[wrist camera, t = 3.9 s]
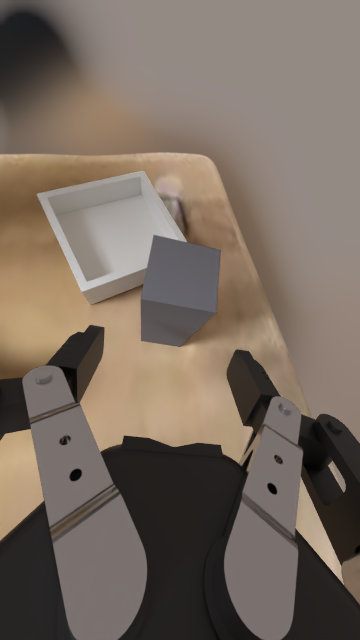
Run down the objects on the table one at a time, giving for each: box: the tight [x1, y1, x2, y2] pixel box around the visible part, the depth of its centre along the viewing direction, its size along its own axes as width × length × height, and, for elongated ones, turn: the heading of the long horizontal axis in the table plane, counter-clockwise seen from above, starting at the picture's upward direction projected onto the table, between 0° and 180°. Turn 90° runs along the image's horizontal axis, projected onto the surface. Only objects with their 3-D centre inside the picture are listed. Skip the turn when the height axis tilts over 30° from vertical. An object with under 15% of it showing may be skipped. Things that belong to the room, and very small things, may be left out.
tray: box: [36, 170, 187, 305], centre depth 24 cm, size 13×13×4 cm
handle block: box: [141, 235, 221, 347], centre depth 18 cm, size 4×4×12 cm
